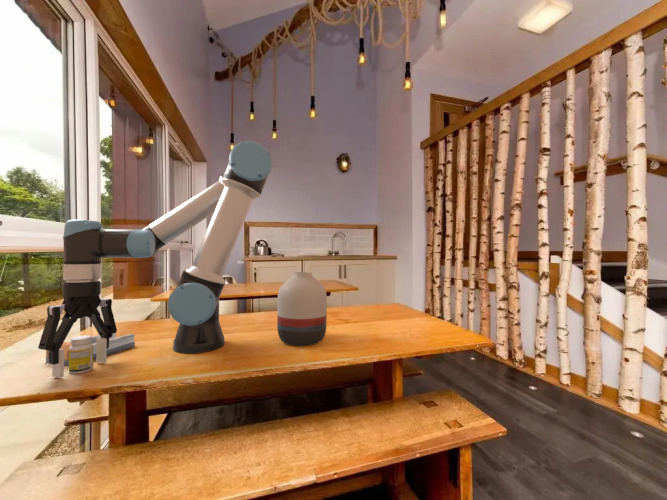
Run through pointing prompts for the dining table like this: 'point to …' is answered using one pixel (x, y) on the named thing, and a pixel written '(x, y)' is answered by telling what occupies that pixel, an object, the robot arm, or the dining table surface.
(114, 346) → the rail
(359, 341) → the dining table surface
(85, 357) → the supplement bottle
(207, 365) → the dining table surface
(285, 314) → the vase
